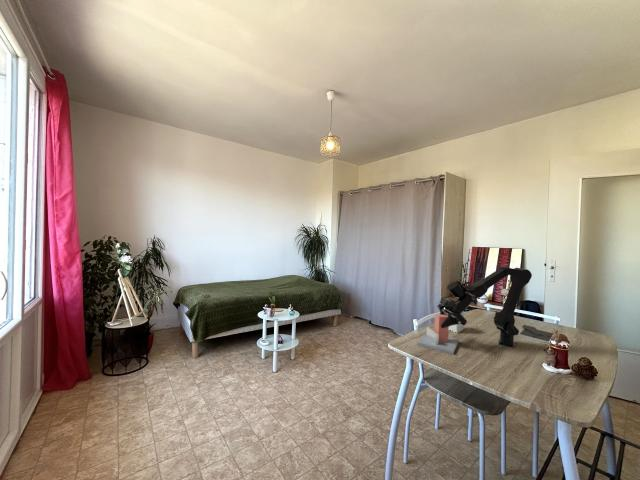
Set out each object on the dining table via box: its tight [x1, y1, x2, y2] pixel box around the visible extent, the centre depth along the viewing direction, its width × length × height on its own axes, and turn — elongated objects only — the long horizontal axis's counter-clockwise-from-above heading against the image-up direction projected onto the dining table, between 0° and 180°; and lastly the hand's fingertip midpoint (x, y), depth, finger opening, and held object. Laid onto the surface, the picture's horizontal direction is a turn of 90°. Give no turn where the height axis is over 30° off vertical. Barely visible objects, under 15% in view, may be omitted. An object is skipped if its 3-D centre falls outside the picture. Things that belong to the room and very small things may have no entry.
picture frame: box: [514, 324, 555, 345], centre depth 147 cm, size 16×3×21 cm
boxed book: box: [434, 314, 449, 342], centre depth 134 cm, size 5×4×12 cm
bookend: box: [426, 326, 439, 345], centre depth 134 cm, size 10×1×5 cm, turn 3°
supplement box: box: [449, 311, 465, 334], centre depth 154 cm, size 7×7×13 cm
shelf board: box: [416, 331, 460, 355], centre depth 134 cm, size 18×16×2 cm
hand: (439, 325), depth 134 cm, fingers open, 5 cm apart
